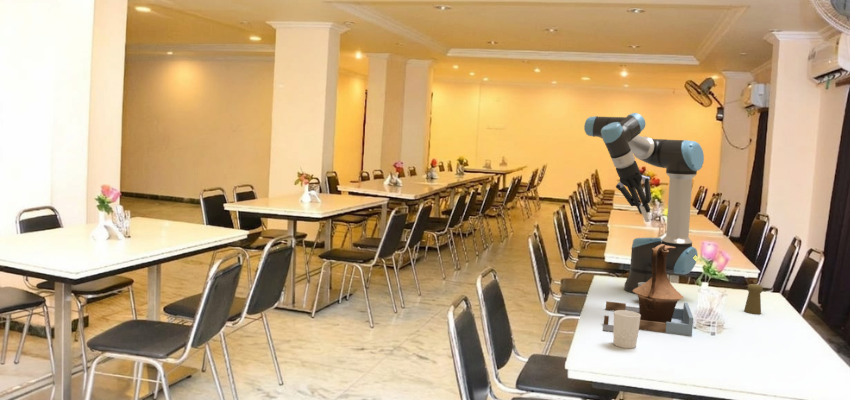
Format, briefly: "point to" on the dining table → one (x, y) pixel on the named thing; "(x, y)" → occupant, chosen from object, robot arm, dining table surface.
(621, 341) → the beige tumbler
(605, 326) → the mat
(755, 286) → the cork
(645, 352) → the dining table surface
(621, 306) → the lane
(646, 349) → the dining table surface
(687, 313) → the pocket
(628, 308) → the mat
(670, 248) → the pitcher
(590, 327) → the dining table surface
